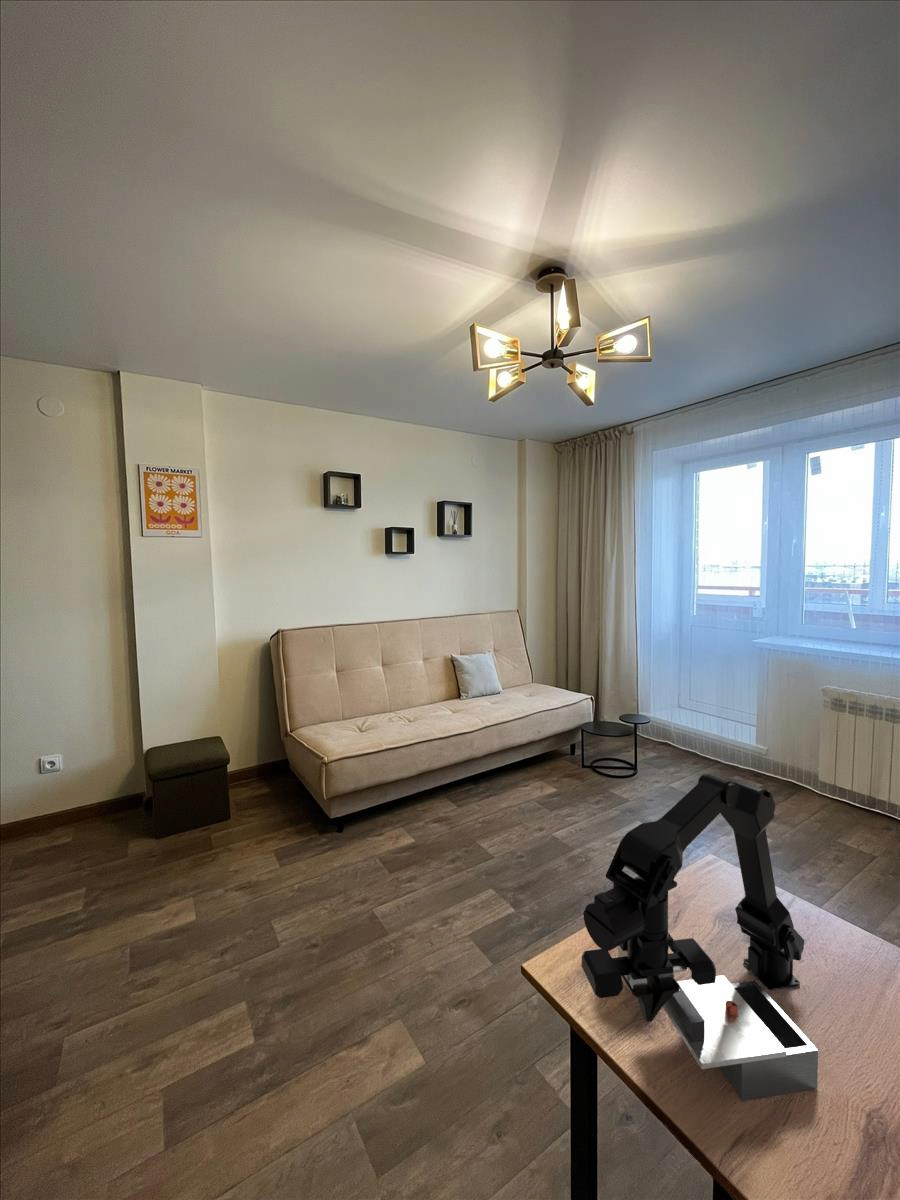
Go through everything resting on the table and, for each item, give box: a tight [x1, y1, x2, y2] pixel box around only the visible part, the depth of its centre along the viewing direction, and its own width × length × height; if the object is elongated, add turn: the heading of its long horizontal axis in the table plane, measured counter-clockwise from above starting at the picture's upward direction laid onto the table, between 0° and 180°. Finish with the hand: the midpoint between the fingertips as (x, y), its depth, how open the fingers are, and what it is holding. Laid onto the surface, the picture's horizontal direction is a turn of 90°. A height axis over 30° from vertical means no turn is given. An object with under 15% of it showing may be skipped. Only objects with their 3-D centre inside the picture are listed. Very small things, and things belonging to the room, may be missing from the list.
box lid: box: [662, 974, 787, 1070], centre depth 73 cm, size 13×13×4 cm
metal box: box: [718, 980, 819, 1102], centre depth 74 cm, size 12×12×6 cm
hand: (647, 1019), depth 72 cm, fingers closed
